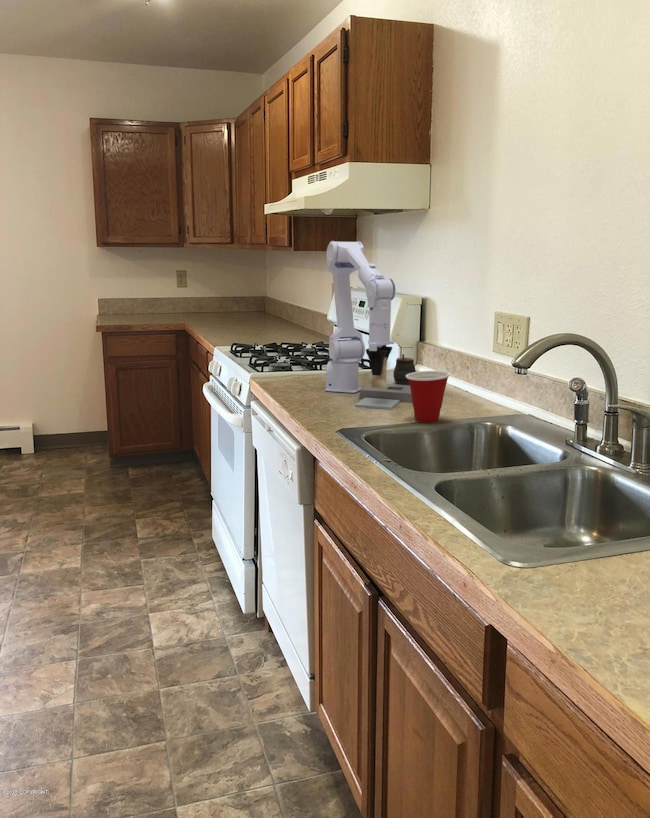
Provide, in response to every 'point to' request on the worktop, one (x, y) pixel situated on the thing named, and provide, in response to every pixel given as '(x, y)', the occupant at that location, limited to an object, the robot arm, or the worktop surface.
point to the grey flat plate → (387, 392)
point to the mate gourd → (403, 369)
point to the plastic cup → (427, 394)
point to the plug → (379, 377)
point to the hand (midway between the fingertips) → (378, 374)
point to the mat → (377, 403)
